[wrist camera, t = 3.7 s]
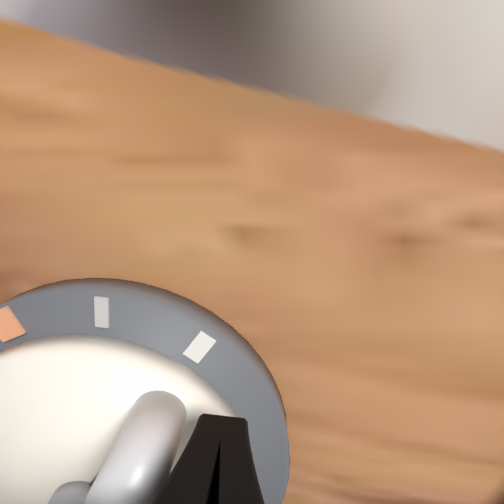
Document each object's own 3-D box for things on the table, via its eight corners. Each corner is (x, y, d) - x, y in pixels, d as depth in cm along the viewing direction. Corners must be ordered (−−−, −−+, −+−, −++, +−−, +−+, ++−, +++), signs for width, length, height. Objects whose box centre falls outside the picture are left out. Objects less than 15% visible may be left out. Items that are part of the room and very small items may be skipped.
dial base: (321, 516, 16) (328, 554, 14) (51, 568, 17) (31, 607, 16) (224, 230, 12) (219, 240, 10) (-118, 333, 13) (-168, 355, 12)
